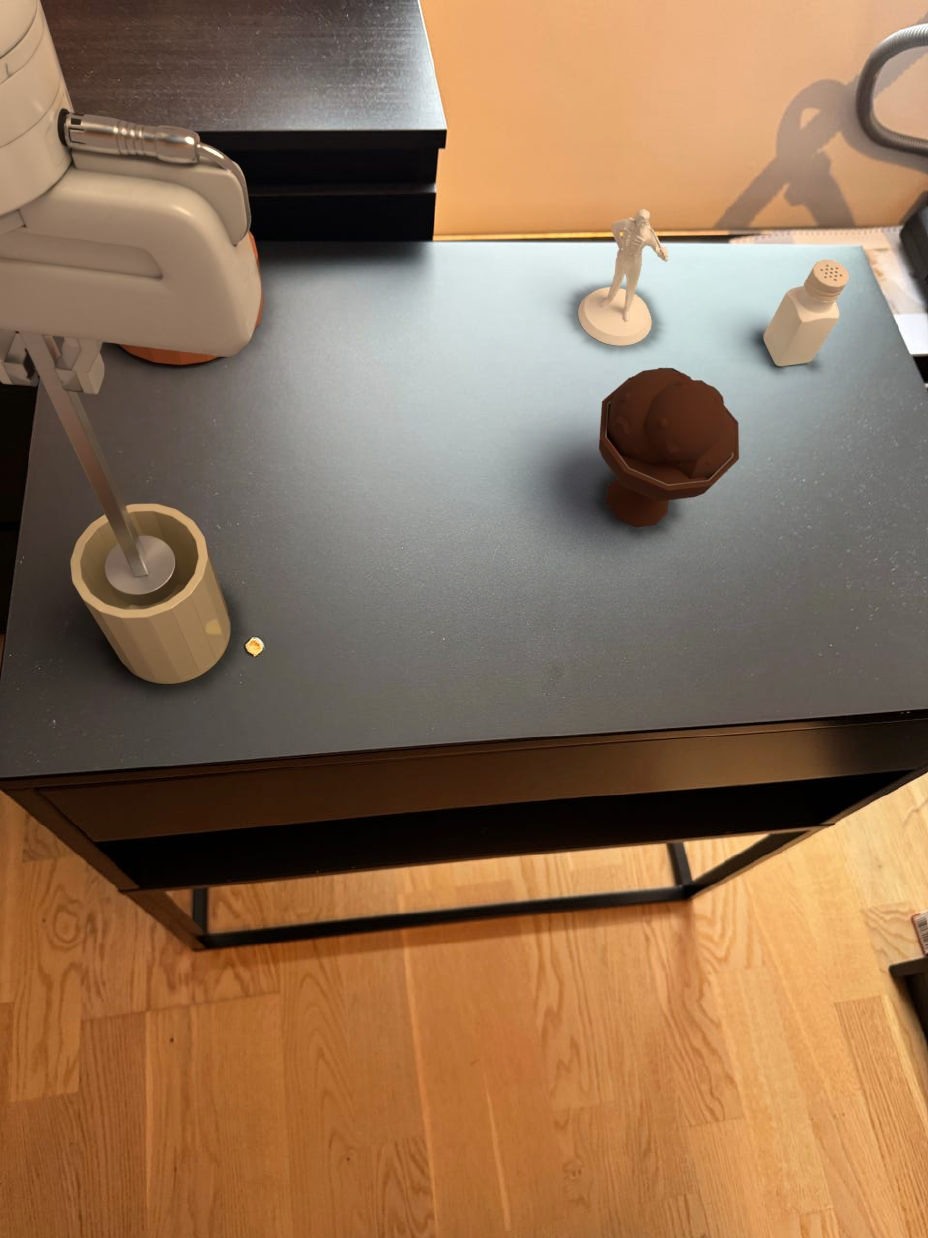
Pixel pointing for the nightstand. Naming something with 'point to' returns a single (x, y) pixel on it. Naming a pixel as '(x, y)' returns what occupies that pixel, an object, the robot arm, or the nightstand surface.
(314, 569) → the nightstand surface
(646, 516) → the ice cream bowl
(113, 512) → the metal stirring rod
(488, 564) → the nightstand surface
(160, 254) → the robot arm
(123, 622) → the crock
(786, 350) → the salt shaker
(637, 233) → the figurine
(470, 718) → the nightstand surface
